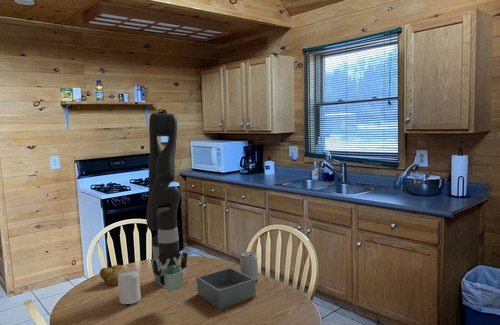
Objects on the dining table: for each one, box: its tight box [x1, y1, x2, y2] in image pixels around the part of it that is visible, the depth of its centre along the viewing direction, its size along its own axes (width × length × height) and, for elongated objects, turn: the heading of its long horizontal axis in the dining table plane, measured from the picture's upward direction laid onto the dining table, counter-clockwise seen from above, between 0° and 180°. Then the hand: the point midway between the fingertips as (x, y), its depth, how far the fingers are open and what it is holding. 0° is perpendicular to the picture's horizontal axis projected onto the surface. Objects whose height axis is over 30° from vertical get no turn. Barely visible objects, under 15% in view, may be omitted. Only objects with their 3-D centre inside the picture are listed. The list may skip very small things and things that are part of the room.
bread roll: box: [99, 264, 127, 286], centre depth 179 cm, size 13×10×8 cm
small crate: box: [158, 265, 185, 292], centre depth 150 cm, size 9×6×6 cm, turn 35°
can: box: [239, 251, 259, 282], centre depth 174 cm, size 8×8×12 cm
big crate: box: [196, 267, 257, 310], centre depth 160 cm, size 18×17×7 cm
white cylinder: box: [117, 268, 142, 305], centre depth 158 cm, size 8×8×12 cm
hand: (170, 282), depth 150 cm, fingers closed on small crate, 6 cm apart
